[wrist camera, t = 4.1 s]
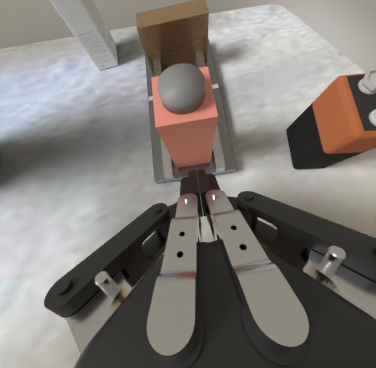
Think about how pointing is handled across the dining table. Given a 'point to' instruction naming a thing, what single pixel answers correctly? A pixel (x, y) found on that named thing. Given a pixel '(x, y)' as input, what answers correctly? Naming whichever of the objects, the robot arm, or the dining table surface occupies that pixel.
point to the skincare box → (89, 30)
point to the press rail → (220, 129)
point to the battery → (336, 123)
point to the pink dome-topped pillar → (185, 113)
